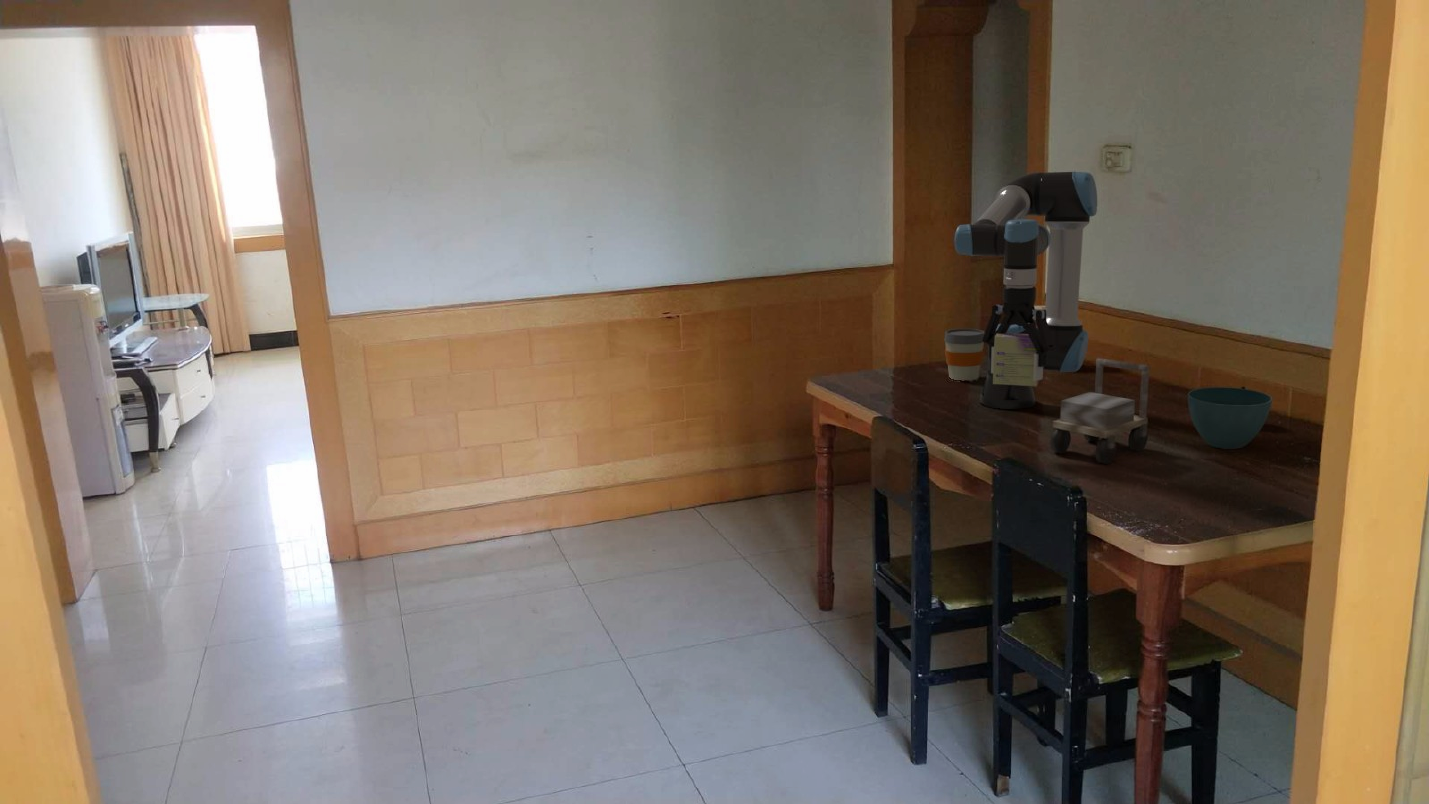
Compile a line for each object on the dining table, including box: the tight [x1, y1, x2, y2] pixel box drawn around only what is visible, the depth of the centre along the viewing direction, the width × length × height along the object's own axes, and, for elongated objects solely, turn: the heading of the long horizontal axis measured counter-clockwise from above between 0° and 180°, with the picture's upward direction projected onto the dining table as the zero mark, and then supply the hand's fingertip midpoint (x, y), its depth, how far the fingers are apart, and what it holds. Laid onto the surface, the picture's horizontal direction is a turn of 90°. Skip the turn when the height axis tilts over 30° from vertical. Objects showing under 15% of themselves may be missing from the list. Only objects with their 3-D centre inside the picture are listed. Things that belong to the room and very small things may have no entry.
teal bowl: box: [1187, 386, 1273, 450], centre depth 255 cm, size 18×18×12 cm
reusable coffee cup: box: [943, 328, 985, 381], centre depth 333 cm, size 13×12×15 cm
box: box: [993, 333, 1040, 387], centre depth 253 cm, size 10×6×12 cm, turn 70°
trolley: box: [1049, 357, 1151, 465], centre depth 252 cm, size 15×20×21 cm
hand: (1016, 376), depth 254 cm, fingers closed on box, 11 cm apart
